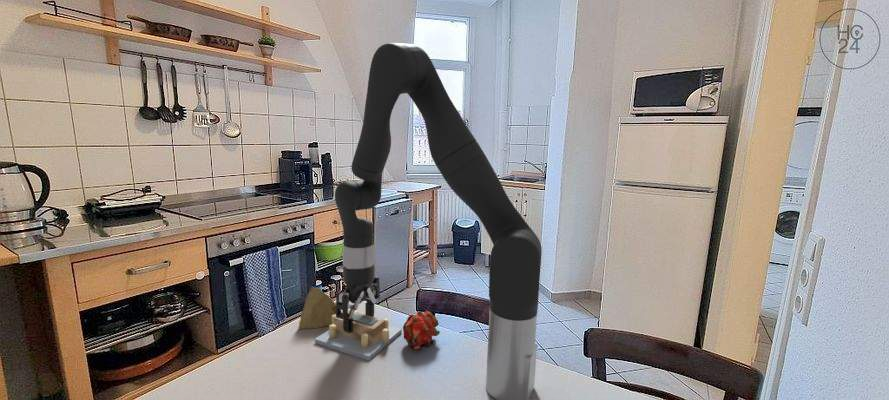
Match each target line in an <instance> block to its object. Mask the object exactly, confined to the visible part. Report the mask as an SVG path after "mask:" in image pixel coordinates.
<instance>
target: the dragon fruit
mask: <svg viewBox="0 0 889 400" xmlns="http://www.w3.org/2000/svg"><path fill="white" fill-rule="evenodd" d="M438 326H439V321H438V319H437V317H436V316H435V315H434V314H432V312H431V311H428V310H426V311H424V312H422V311H419V310H417V312H416V314H414V315H413V314H410V315H408V317H407V318H406V321H405V323H404V324H403V326H402V331H403V340H405V341H406V343H407V344H408V345H409V347H410V351H413V349H414V350H420V349H422V348H423V347H424V346H423V345H426V346H427V347H429V346H433V345H434V344H435V343H436V341H437V340H436V339H435V338H434V339H433V337H437V336H439V335H440V333H441V332H440V330H438V329H437V327H438Z"/></svg>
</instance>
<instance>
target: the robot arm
mask: <svg viewBox="0 0 889 400" xmlns="http://www.w3.org/2000/svg"><path fill="white" fill-rule="evenodd" d="M368 74H369V75H368V79H367V80H368V82H367V88H366V89H367V90H366V98H365V106H364V112H363V120H362V127H361V131H360V135H359V139H358V142H357V146H356V149H355V152H354V156H353V158H352V162H351V172H352V173H353V175H354V176H355V177H357V178H358V179H359V180H345V181H341V182H340V183H339V184H337V186H336V188H335V191H334V202H335V205H336V207H337V210H338V213H339V218H340V221H341V225H342V230H343V231H342V232H343V234H342V235H343V237H342V238H343V247H342V248H343V250H342V281H343V283H344V284H345V286H346V287H345V292H342V293H341V292H337V293H336V297H335V298H336V299H335V303H336V318H340V319H343V330H344V331H345V332H347V333H351V332H353V318H352V316H353V314H354V311H355V310H357V311H358V308H359V305H360V304H362V303H363V302H365V304H364V305H365V314H364V315H368V316H371V317H375V303H376V301H377V299H378V300H379V299H380V296H381V291H380V290H381V288H380V277H378V276H375V275H376V273H375V269H376V268H375V247H374V225H373V224H374V223H373V222H372V221H371V220H370V219H368V218H360V217H358V215H357V214H356V211H362V210H370V209H374V208H375V207H377V206H378V204H379V203H380V201H381V199H382V183H383V172H384V169H385V166H386V163H387V161H388V158H389V155H390V152H391V148H392V136H391V118H392V113H393V109H394V108H395V105H396V103H397V101H398V99H399V98H400V96H401V95H402V94H407V95H408V97H410V99H411V100H412V102H413V103H414V104H415V106H416V108H417V110H418V111H419V113H420V114H421V117H422V119H423V122H424V125H425V129H426V135H427V143H428V148H429V153H430V156H431V160H432V161H433V162H434V164H435V166H436V168H437V169H438V171H439V172H440V174H441V175H442V177H443V179H444V181H445V182H446V184H447V185H448V186H449V188H450V189H451V190H452V192H454V194H455V195H456V196H458V198H459V199H460V200H461V201H462V202H463V203H465V205H466V206H467V207H468V208H469V209H470V210H471V211H472V212H473V213H474V214H475V215H476V217H478V219H479V220H480V222H481V223H482V225H483V227H484V229H485V230H486V232H487V235H488V236H489V238H490V240H491V242H492V245H493V246H492V248H491V251H490V256H489V257H490V258H489V273H488V275H489V277H488V279H489V280H488V298H489V315H488V316H489V318H488V336H487V353H486V355H487V357H486V373H485V374H486V375H485V381H486V382H485V388H486V391H487V393H488V395H489V396H491V397H492V398H493V399H494V400H530V399H531V397H532V393H533V390H535V389H534V388H535V381H536V380H535V378H536V366H537V364H536V363H537V353H538V352H537V350H538V345H537V344H536V336H537V335H536V334H537V324H538V323H537V322H538V321H537V319H538V311H539V310H538V309H539V295H540V294H539V292H540V281H541V268H542V267H541V266H542V255H543V253H542V252H543V251H542V250H543V248H542V244H541V241H540V239H539V237H538V235H537V234H536V233H535V232H534V230H533V229H532V228H531V226H530V225H529V224H528V223H527V221H526V220H525V218H524V217H523V216H522V215H521V214H520V212H519V211H518V210H517V208H516V207H515V205H514V203H512V200H511V199H510V198H509V197H508V195H507V193H506V191H505V189H504V187H503V185H502V183H501V181H500V178H499V177H498V175H497V174H496V172H495V170H494V168H493V166H492V164H491V163H490V161H489V159H488V157H487V156H486V154H485V151H484V150H483V149H482V147H481V145H480V144H479V142H478V141H477V139H476V138H475V136H474V135H473V133H472V132H471V130H470V129H469V127H468V126H467V123H466V122H465V121H464V119H463V118H462V117H463V116H461V114H460V112H459V111H458V109H457V108H456V106H455V105H454V103H453V101H452V100H451V98H450V96H449V94H448V92H447V91H446V88H445V85H444V84H443V82H442V79H441V78H440V76H439V73H438V72H437V70H436V67H435V65H434V64H433V61H432V59H431V57H430V56H429V54H428V53H427V52H426V51H425V50H424V49H423V48H422V47H420V46H418V45H416V44H414V43H413V44H412V43H400V42H390V43H384V44H382V45H380V46H379V47H378V48H377V49H376V50H375V52H374V54H373V56H372V59H371V64H370V68H369V73H368ZM350 303H352V304H350ZM348 310H349V311H350V312H349V313H348ZM341 312H342V313H341Z"/></svg>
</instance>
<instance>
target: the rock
mask: <svg viewBox="0 0 889 400" xmlns="http://www.w3.org/2000/svg"><path fill="white" fill-rule="evenodd" d="M341 313H342V311H341ZM335 314H336V301H334V299H332V297H330V295H328V294H326V293H325V292H324V291H322V289H320V288H319V287H316V286H315V287H314V286H311V287H310V289H309V292H308V293H307V296H306V298H305V302H304V305H303V309H302V311H301V314H300V319H299V323H298V327H297V329H298V330H303V329H308V330H309V329H310V330H311V329H318V328H319V329H320V328H324V327H327V326H328V327H329V325H331V324H332V315H335Z"/></svg>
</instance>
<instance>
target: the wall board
mask: <svg viewBox="0 0 889 400" xmlns="http://www.w3.org/2000/svg"><path fill="white" fill-rule="evenodd" d="M354 312H356V313H359V311H358V309H357V310H355V311H354ZM334 317H336V314H335V315H332V324H331V325H329V326H328V330H327V331H325V332H323V333H322V334H320V335H319V336H317V337H316V338H315V339H314V343H315V344H317V345H321V346H324V347H326V348H329V349H333V350H336V351H339V352H342V353H345V354H348V355H350V356H354V357H357V358H359V359H363V360H366V361H370V360H372V358H374V357H375V356H376V355H378V353H380V352H381V351H382V350H383V349H384V348H386V347H387V346H389V344H390V343H391V342H392V341H394V340H395V339H396V338H397V337H398V336H399V335H401V334H402V331H403V328H399V327H394V326H392V325H389V318H386V317H385V318H382V319H383V320H385V329H383V330H382V338H381V339H380V340H379V341H378V342H376V343H375V344H374V345H373V344H370V343H368V334H362V335H361V341H360V340H356V339H353V338H350V337H346V336H343V335H340V334H336V325H335V324H334Z"/></svg>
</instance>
